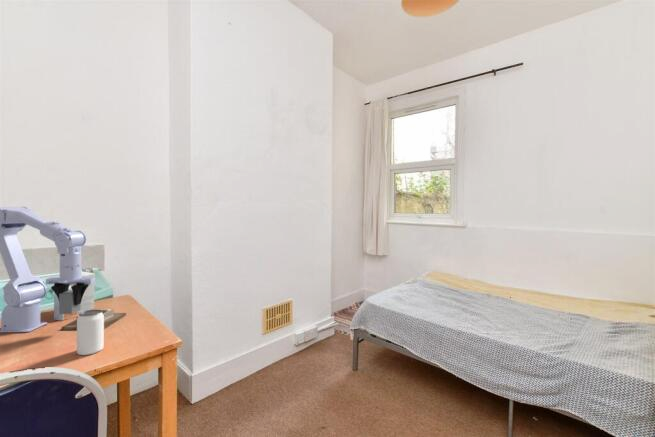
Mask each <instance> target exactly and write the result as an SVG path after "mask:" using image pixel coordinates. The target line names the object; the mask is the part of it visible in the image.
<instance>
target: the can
mask: <svg viewBox="0 0 655 437" xmlns="http://www.w3.org/2000/svg"><path fill="white" fill-rule="evenodd" d="M78 316H79V317H78ZM78 316H77V317H78V319H77V318H76V320H77V330H76V353H77V355H79V356H90V355H94V354H97V353H99V352H101V351H102V350H103V349H104V347H105V346H104V345H105V343H104V342H105V336H104V335H105V334H104V333H105V329H104V315H103V313H102V310H92V309H91V310H87V311H84V312H81V313H78Z"/></svg>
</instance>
